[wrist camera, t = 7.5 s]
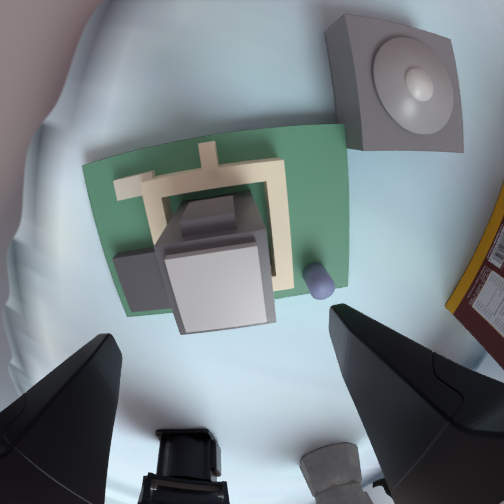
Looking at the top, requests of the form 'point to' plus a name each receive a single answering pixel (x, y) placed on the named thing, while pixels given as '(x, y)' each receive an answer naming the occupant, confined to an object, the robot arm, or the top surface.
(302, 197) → the board
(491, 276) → the supplement box
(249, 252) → the plug
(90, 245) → the top surface
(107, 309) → the top surface
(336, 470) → the coffeepot
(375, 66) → the speaker
